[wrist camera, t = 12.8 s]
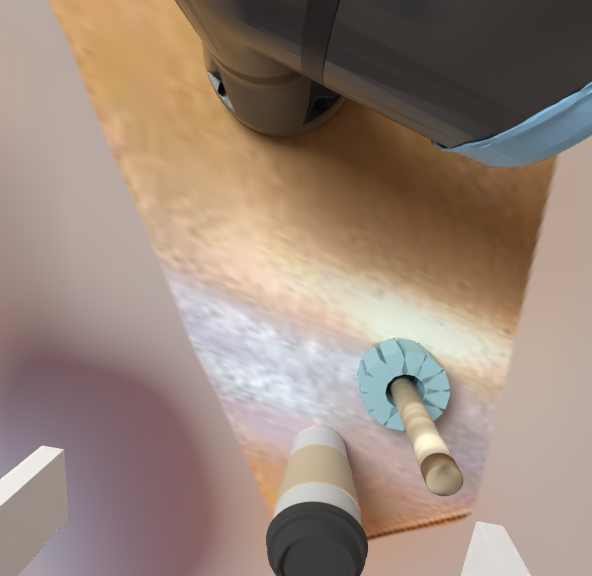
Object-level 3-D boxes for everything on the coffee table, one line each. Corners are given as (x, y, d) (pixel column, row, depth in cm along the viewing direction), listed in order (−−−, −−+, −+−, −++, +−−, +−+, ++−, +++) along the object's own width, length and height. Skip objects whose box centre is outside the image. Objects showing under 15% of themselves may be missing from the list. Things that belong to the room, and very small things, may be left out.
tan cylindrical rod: (387, 363, 38) (430, 461, 23) (409, 367, 38) (467, 469, 23) (382, 382, 39) (421, 491, 23) (404, 387, 39) (457, 499, 23)
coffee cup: (364, 429, 40) (386, 547, 26) (343, 489, 42) (353, 631, 27) (293, 408, 41) (275, 514, 26) (275, 469, 42) (250, 599, 28)
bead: (367, 331, 38) (372, 344, 34) (445, 347, 37) (460, 361, 33) (351, 401, 40) (353, 420, 36) (425, 416, 39) (436, 438, 35)
